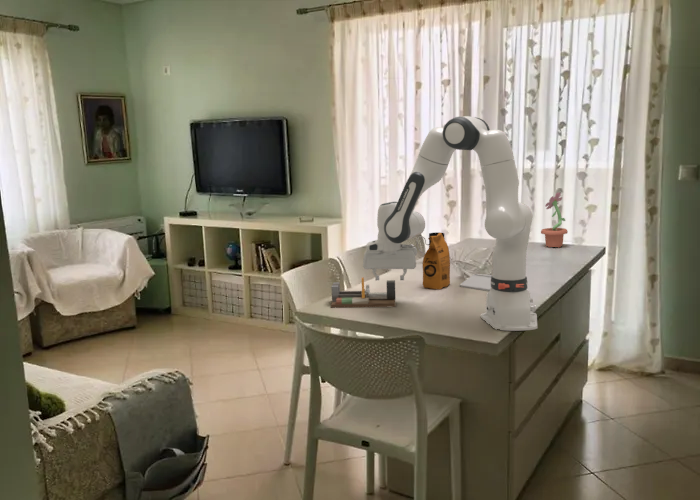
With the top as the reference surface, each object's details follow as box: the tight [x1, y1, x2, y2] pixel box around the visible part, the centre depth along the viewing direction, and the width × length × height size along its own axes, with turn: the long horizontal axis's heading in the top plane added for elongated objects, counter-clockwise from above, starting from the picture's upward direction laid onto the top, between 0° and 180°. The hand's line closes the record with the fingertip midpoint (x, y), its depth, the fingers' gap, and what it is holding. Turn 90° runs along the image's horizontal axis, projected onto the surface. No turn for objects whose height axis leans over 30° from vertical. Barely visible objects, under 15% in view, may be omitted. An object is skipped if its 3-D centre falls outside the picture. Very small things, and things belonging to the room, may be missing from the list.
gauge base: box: [330, 281, 396, 309], centre depth 234 cm, size 14×24×7 cm, turn 85°
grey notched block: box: [361, 279, 396, 300], centre depth 232 cm, size 6×13×7 cm, turn 85°
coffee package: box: [422, 232, 451, 291], centre depth 254 cm, size 10×12×22 cm
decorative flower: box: [540, 192, 568, 248], centre depth 330 cm, size 15×14×30 cm
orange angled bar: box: [361, 277, 366, 298], centre depth 228 cm, size 3×1×8 cm, turn 175°
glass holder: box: [416, 232, 446, 256], centre depth 299 cm, size 9×14×15 cm, turn 81°
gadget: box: [458, 273, 492, 292], centre depth 256 cm, size 23×15×4 cm, turn 137°
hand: (389, 280), depth 232 cm, fingers open, 8 cm apart
